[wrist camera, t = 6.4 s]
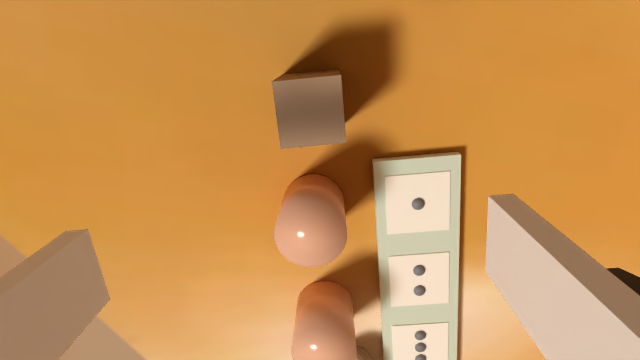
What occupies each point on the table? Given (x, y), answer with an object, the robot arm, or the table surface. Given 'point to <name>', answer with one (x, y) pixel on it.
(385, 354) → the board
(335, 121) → the walnut block
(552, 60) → the table surface
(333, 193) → the peach capsule
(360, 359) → the tin
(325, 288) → the pink capsule pill
